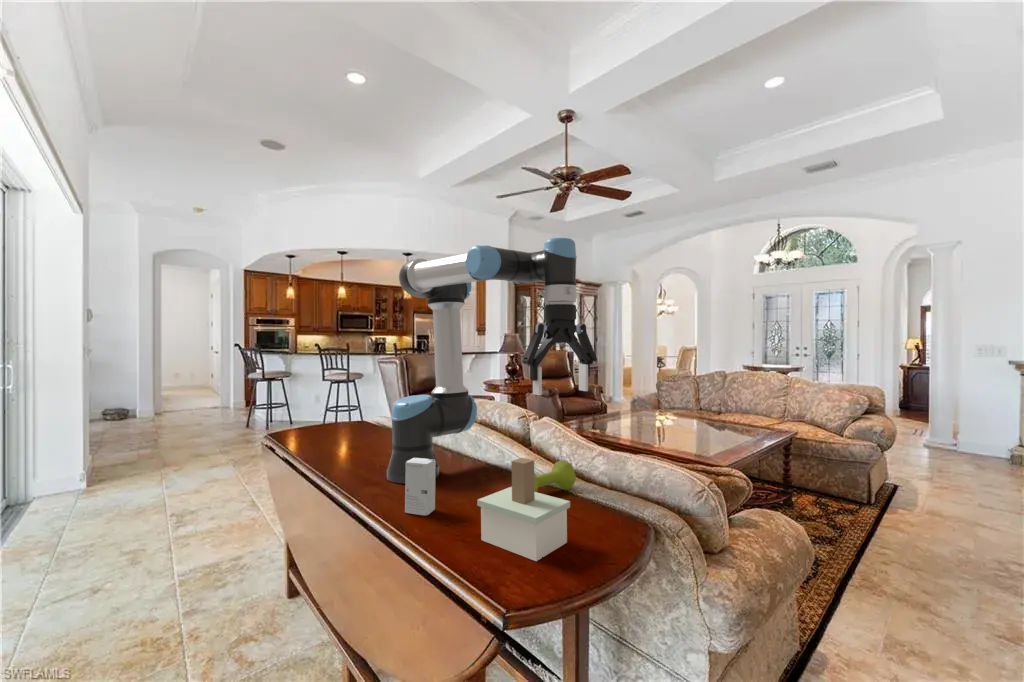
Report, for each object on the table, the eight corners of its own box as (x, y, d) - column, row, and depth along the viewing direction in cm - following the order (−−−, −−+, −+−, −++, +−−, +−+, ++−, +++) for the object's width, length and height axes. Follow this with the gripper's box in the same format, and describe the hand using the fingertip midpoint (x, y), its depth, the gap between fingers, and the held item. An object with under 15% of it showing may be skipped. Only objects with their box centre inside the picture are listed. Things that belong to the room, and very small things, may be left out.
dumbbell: (560, 483, 130) (560, 457, 130) (579, 491, 123) (578, 464, 123) (510, 494, 121) (510, 467, 121) (528, 504, 114) (527, 474, 114)
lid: (477, 511, 94) (476, 460, 94) (512, 496, 102) (512, 449, 102) (536, 531, 84) (535, 474, 84) (570, 513, 92) (569, 461, 92)
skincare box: (404, 513, 109) (403, 461, 108) (413, 506, 113) (413, 457, 113) (427, 516, 107) (427, 463, 107) (436, 509, 111) (436, 458, 111)
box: (481, 540, 94) (480, 505, 94) (513, 524, 101) (513, 492, 101) (536, 561, 85) (535, 523, 85) (567, 542, 92) (566, 507, 92)
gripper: (524, 301, 102) (525, 398, 102) (610, 304, 114) (611, 390, 115) (507, 303, 108) (508, 394, 109) (590, 306, 121) (591, 387, 121)
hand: (561, 392), depth 112 cm, fingers open, 13 cm apart
